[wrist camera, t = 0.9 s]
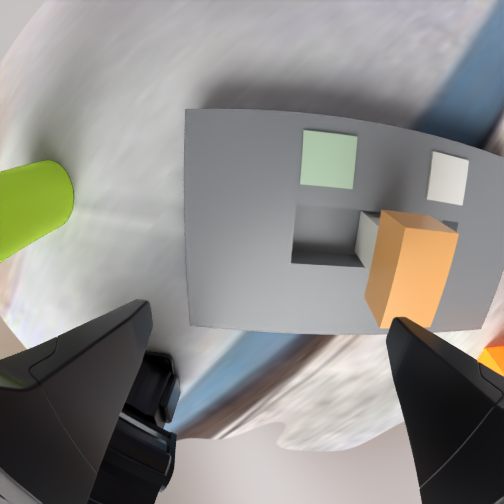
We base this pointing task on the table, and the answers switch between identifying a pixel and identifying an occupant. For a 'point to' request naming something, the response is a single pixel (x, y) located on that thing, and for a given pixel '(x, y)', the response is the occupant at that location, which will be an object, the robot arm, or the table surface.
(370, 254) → the lever
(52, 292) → the table surface
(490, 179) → the breaker box
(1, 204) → the soap dispenser
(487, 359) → the orange juice
